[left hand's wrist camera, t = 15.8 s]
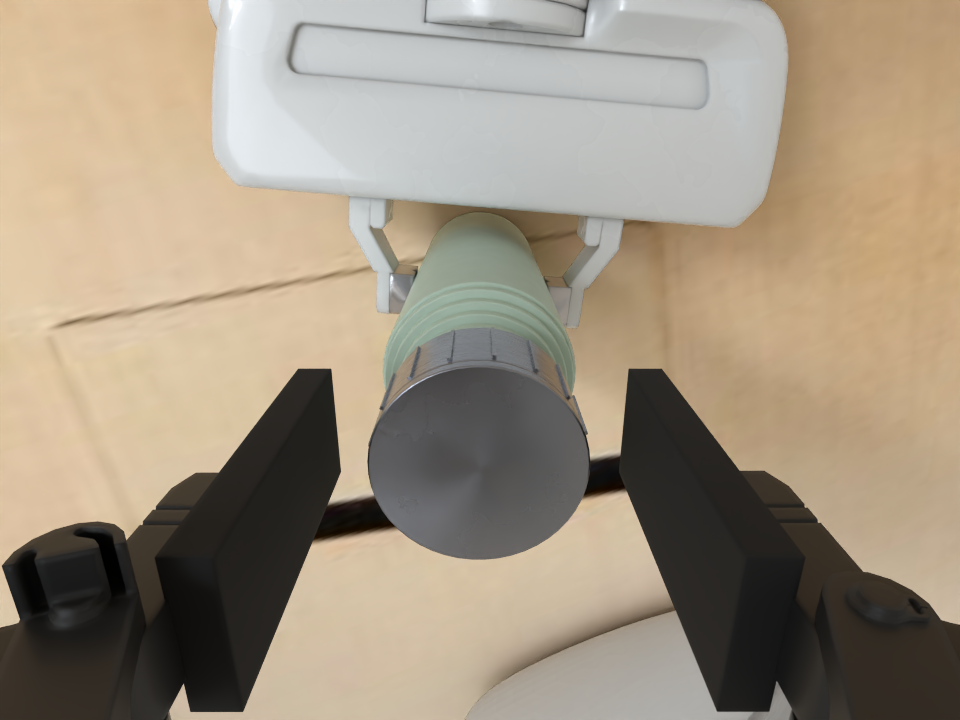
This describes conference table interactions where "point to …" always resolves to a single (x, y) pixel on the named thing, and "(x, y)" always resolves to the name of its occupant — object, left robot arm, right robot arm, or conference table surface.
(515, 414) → the cap
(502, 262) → the bottle
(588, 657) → the projector
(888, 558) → the conference table surface
